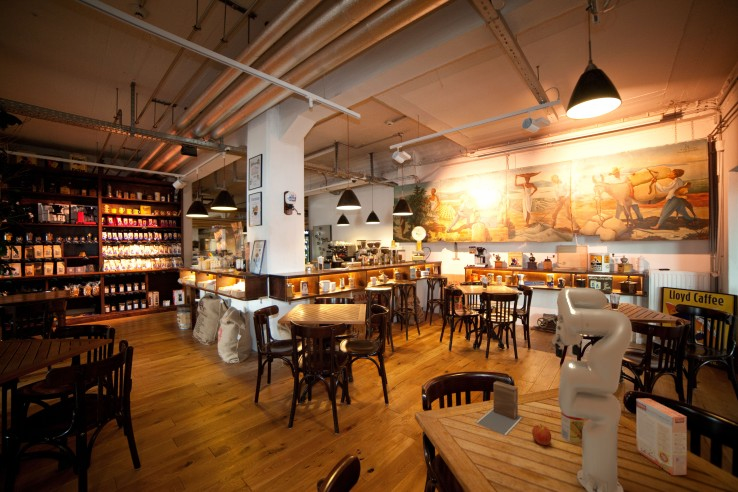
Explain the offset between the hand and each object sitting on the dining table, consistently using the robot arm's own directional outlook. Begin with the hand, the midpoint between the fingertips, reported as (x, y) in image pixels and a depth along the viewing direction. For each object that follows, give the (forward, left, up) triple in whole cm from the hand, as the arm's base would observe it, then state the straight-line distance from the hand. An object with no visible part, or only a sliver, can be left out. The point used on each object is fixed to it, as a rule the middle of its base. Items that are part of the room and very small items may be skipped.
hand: (567, 356), depth 143 cm
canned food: (-12, -4, -31) cm, 33 cm away
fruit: (-25, +4, -31) cm, 40 cm away
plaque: (-14, +23, -30) cm, 40 cm away
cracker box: (-6, -31, -31) cm, 44 cm away
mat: (-21, +23, -31) cm, 43 cm away
